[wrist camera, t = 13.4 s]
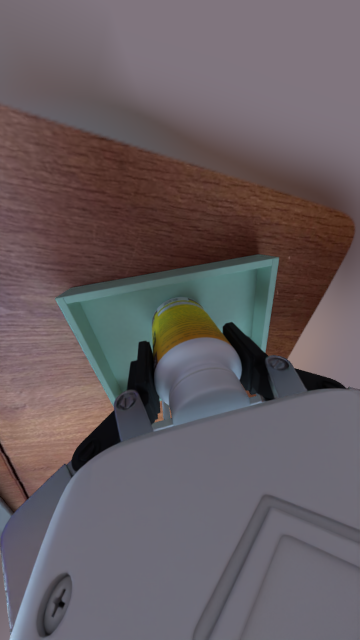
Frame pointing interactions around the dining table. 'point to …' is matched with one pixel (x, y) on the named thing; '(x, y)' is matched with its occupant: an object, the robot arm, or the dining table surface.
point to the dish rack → (148, 294)
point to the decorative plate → (4, 515)
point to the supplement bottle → (194, 363)
